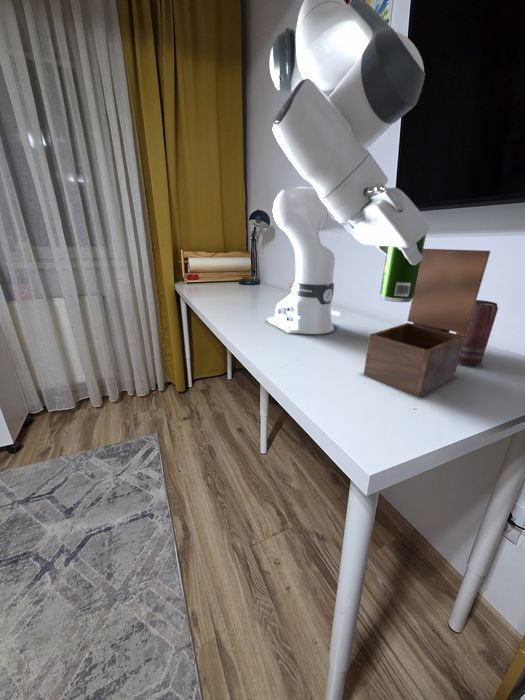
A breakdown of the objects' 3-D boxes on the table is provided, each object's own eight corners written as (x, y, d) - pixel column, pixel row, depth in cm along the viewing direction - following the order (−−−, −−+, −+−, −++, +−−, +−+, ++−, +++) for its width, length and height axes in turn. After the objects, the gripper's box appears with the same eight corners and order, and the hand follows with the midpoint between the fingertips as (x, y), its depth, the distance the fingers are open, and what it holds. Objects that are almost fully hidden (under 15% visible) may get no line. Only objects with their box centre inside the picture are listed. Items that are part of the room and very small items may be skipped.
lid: (489, 250, 51) (498, 251, 54) (422, 248, 60) (433, 249, 63) (465, 334, 56) (474, 330, 59) (407, 321, 65) (418, 318, 68)
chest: (419, 397, 52) (430, 351, 48) (363, 374, 60) (369, 334, 57) (454, 376, 60) (465, 336, 57) (400, 358, 68) (407, 322, 65)
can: (467, 368, 64) (485, 305, 59) (443, 357, 69) (458, 299, 64) (488, 365, 65) (508, 304, 60) (463, 355, 71) (479, 298, 66)
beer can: (418, 302, 48) (435, 224, 44) (387, 302, 48) (401, 224, 44) (402, 296, 53) (416, 225, 49) (374, 296, 53) (385, 225, 49)
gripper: (404, 160, 34) (464, 249, 38) (352, 187, 53) (395, 244, 57) (362, 202, 36) (423, 283, 39) (325, 213, 55) (369, 267, 59)
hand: (406, 260), depth 48 cm, fingers closed on beer can, 5 cm apart
